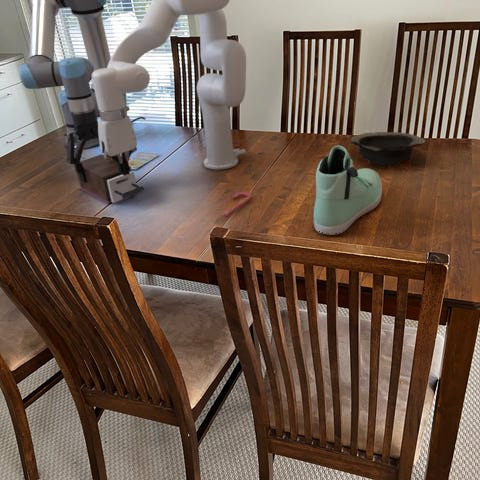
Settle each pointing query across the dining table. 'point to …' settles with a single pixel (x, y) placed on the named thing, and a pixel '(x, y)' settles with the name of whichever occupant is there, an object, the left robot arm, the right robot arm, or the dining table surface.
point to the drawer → (122, 186)
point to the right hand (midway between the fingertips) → (124, 173)
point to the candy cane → (237, 206)
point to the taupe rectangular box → (98, 176)
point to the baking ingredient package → (140, 160)
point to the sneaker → (343, 192)
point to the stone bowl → (386, 147)
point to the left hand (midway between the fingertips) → (98, 175)
